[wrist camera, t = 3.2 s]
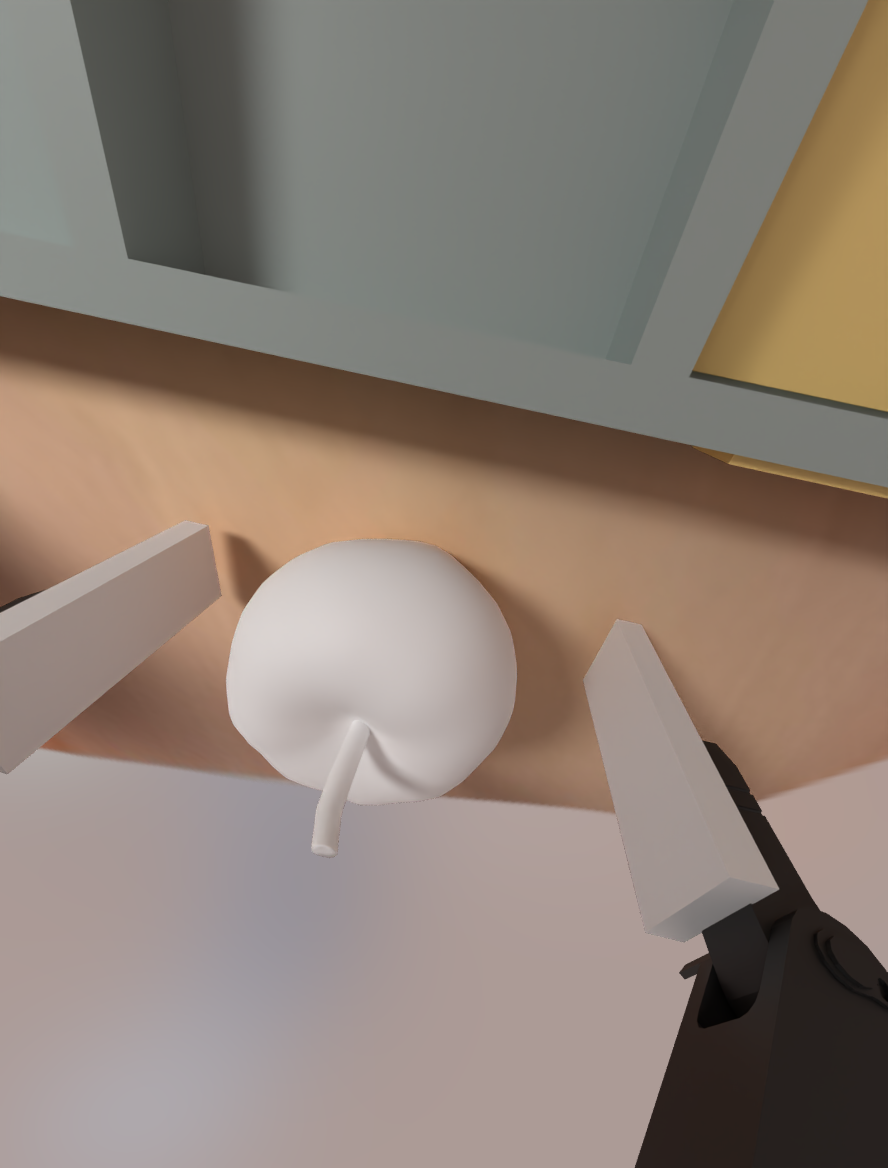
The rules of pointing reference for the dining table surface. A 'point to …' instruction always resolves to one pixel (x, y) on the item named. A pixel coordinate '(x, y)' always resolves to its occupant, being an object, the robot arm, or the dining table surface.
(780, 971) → the robot arm
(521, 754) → the dining table surface
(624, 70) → the grey-green compartment tray
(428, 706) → the plain white apple
